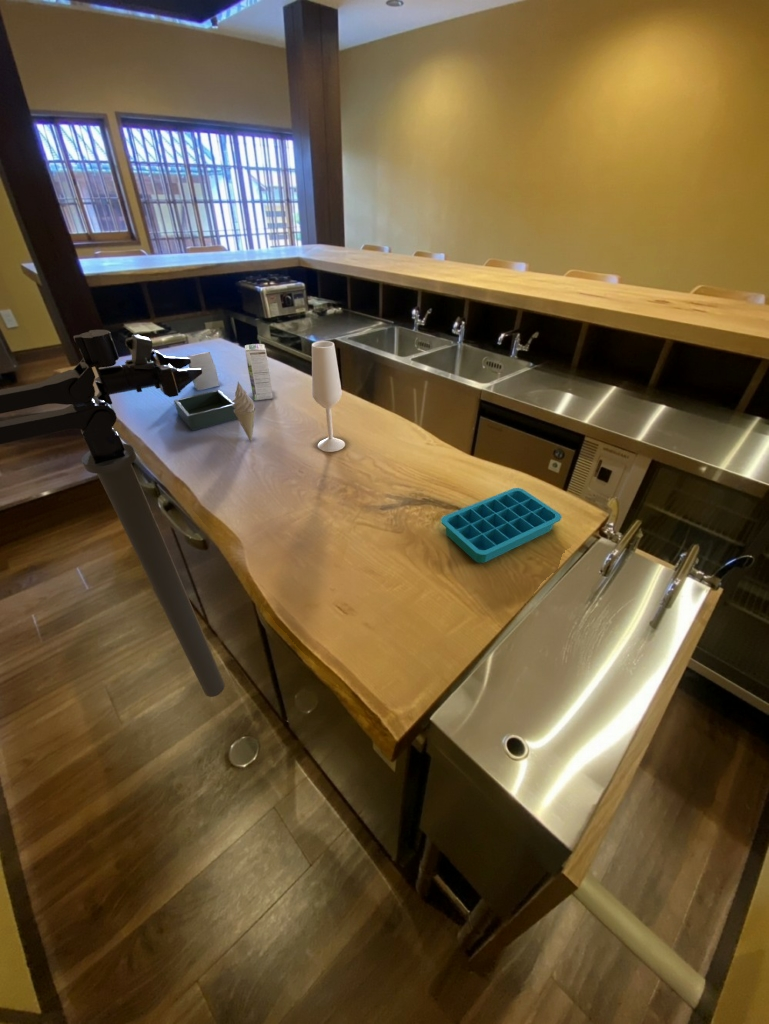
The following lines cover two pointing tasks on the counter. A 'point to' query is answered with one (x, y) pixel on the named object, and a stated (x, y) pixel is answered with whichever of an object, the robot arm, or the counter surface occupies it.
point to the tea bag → (204, 371)
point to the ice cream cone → (244, 410)
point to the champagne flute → (326, 387)
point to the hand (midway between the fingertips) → (195, 365)
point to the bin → (205, 409)
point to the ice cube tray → (499, 524)
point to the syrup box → (258, 371)
